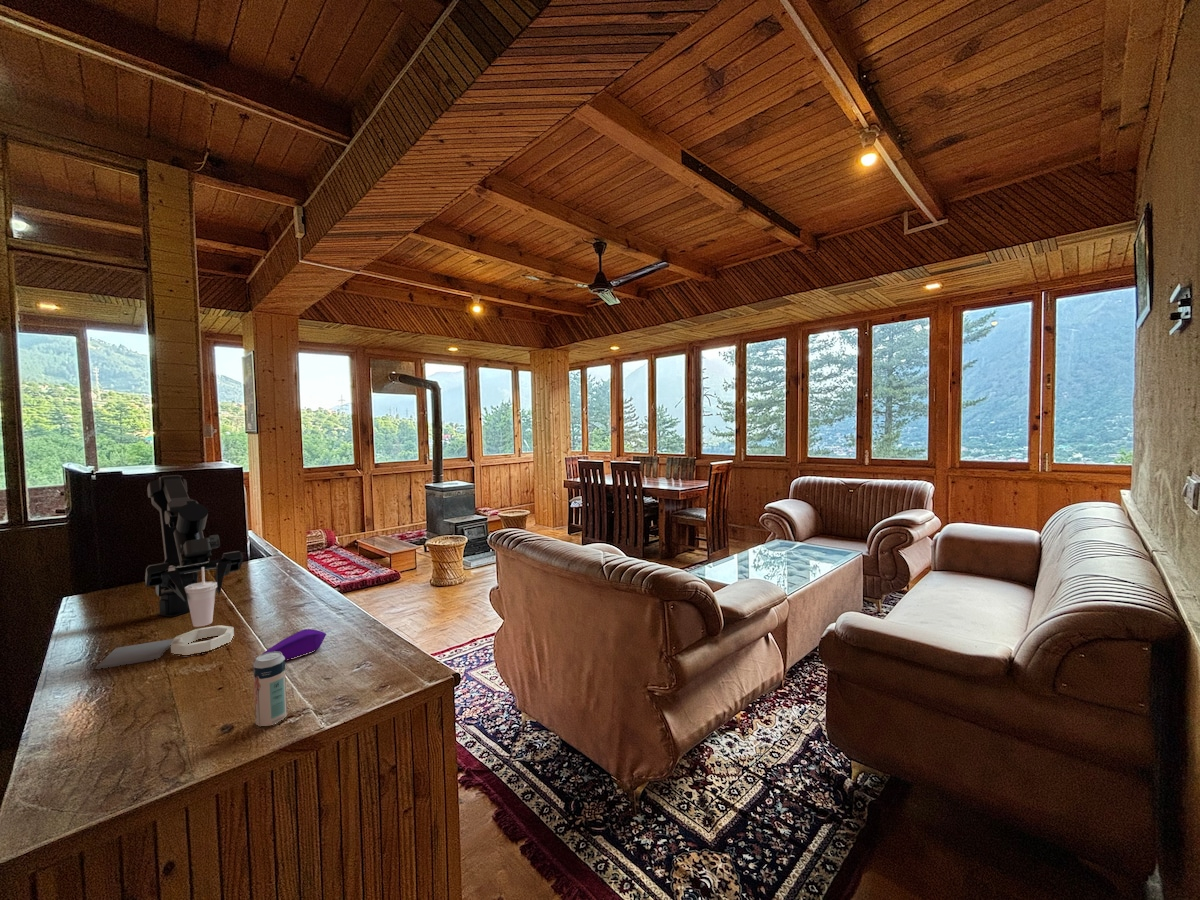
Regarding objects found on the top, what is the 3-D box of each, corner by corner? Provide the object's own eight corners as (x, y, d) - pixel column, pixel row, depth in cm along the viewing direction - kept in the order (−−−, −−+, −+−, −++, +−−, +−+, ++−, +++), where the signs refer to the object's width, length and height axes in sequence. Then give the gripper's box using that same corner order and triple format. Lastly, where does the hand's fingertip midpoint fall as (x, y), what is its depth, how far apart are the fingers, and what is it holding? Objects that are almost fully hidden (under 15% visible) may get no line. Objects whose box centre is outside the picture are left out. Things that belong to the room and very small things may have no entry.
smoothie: (224, 621, 123) (222, 565, 122) (194, 630, 117) (192, 572, 116) (210, 617, 126) (207, 563, 125) (180, 626, 120) (177, 569, 119)
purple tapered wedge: (249, 649, 110) (320, 622, 122) (252, 669, 111) (323, 640, 122) (255, 655, 107) (328, 627, 119) (259, 676, 108) (331, 646, 119)
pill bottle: (265, 714, 91) (262, 650, 91) (292, 712, 92) (290, 649, 91) (249, 730, 87) (246, 663, 86) (278, 728, 87) (275, 661, 86)
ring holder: (211, 633, 129) (210, 623, 129) (243, 638, 125) (243, 628, 125) (161, 652, 118) (160, 642, 118) (195, 658, 114) (195, 647, 114)
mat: (116, 650, 119) (116, 647, 119) (174, 640, 124) (174, 638, 124) (95, 669, 109) (95, 667, 109) (159, 658, 114) (159, 656, 114)
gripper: (144, 532, 116) (154, 588, 109) (240, 520, 130) (254, 569, 123) (141, 559, 121) (150, 614, 115) (233, 545, 135) (246, 593, 129)
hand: (202, 596), depth 120 cm, fingers closed on smoothie, 6 cm apart
